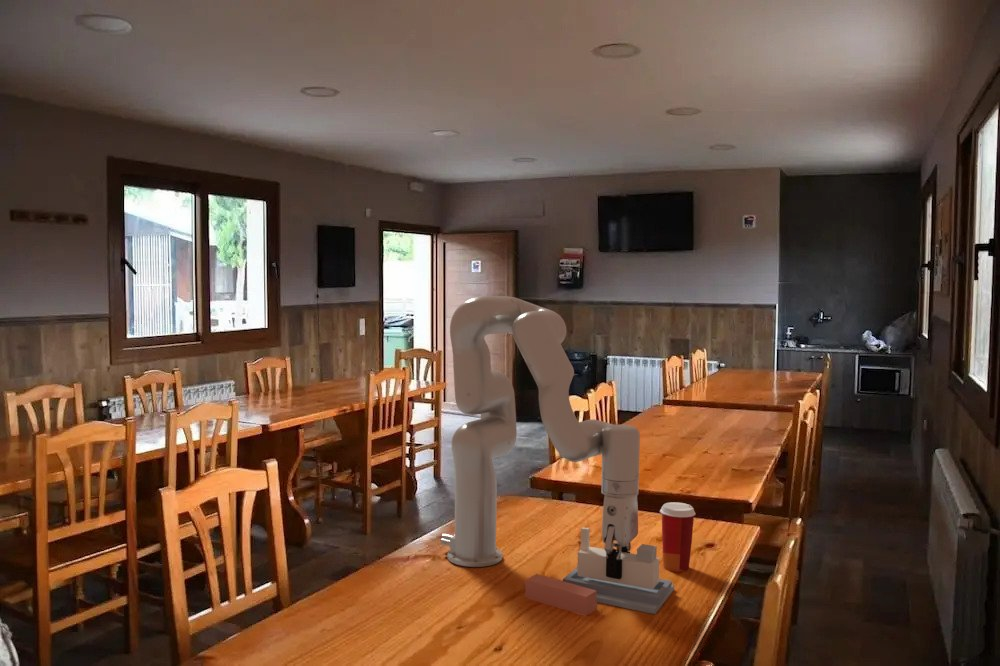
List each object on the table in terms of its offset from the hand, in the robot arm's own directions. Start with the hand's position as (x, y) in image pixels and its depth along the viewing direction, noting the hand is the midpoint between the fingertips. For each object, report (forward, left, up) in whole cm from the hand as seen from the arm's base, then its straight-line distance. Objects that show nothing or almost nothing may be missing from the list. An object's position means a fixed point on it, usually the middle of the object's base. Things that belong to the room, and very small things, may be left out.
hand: (618, 572), depth 165 cm
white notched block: (0, 0, -1) cm, 1 cm away
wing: (-8, -11, -4) cm, 14 cm away
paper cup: (+7, +20, -4) cm, 22 cm away
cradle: (0, 0, -4) cm, 4 cm away
